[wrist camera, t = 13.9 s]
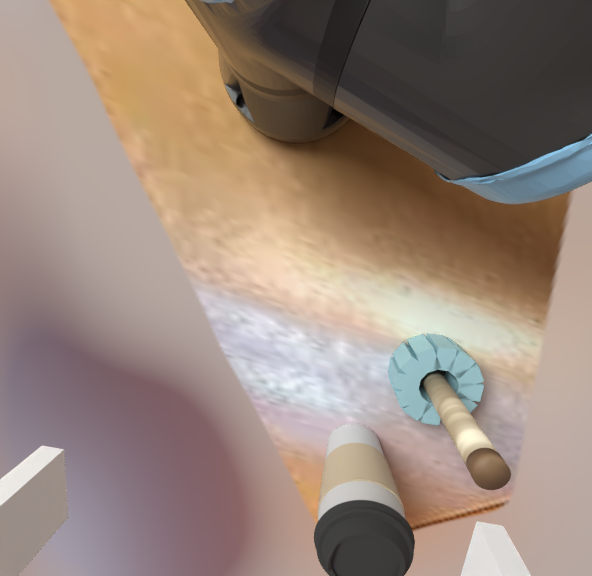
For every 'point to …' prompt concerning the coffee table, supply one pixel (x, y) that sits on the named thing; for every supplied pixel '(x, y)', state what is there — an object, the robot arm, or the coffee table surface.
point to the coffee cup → (360, 509)
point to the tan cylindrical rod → (466, 434)
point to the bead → (428, 358)
